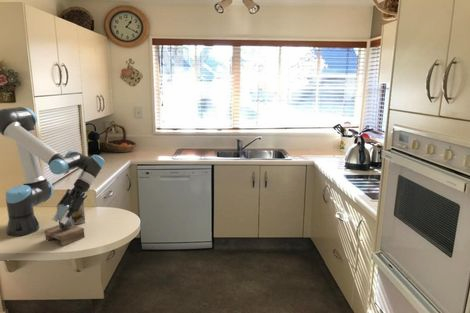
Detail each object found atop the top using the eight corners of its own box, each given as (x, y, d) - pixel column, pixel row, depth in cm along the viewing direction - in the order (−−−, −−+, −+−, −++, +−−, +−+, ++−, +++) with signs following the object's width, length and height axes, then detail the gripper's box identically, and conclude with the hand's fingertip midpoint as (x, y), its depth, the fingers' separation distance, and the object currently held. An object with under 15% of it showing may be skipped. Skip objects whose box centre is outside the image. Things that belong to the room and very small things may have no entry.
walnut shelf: (45, 240, 179) (44, 230, 178) (67, 231, 189) (66, 222, 188) (63, 246, 172) (61, 236, 171) (84, 237, 182) (83, 228, 181)
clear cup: (56, 226, 179) (54, 206, 177) (67, 222, 184) (65, 202, 182) (64, 229, 176) (61, 208, 174) (74, 225, 181) (72, 204, 179)
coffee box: (68, 226, 196) (65, 198, 193) (66, 222, 201) (63, 195, 198) (85, 222, 201) (83, 195, 198) (83, 219, 206) (80, 192, 203)
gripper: (100, 188, 185) (75, 228, 174) (77, 183, 194) (52, 221, 184) (91, 180, 179) (64, 222, 169) (67, 175, 189) (41, 214, 178)
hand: (58, 221), depth 176 cm, fingers closed on clear cup, 6 cm apart
